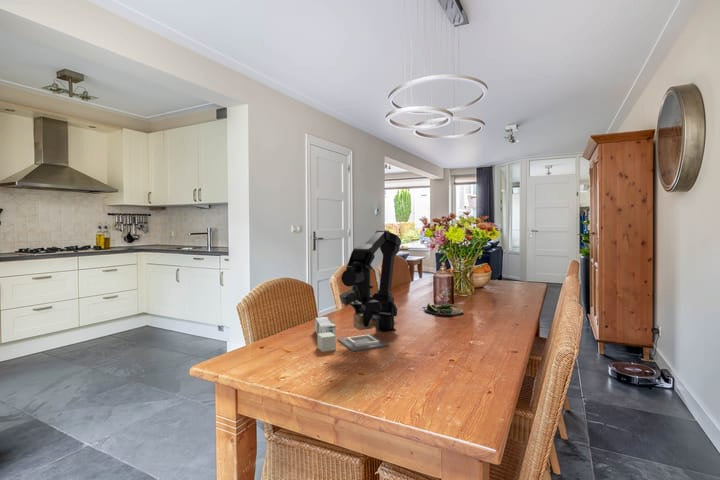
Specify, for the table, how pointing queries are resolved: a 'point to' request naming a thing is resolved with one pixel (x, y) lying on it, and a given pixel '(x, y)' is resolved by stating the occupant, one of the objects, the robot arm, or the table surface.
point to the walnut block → (361, 322)
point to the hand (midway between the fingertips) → (362, 324)
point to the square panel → (362, 342)
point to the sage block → (326, 341)
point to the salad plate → (442, 310)
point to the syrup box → (324, 325)
